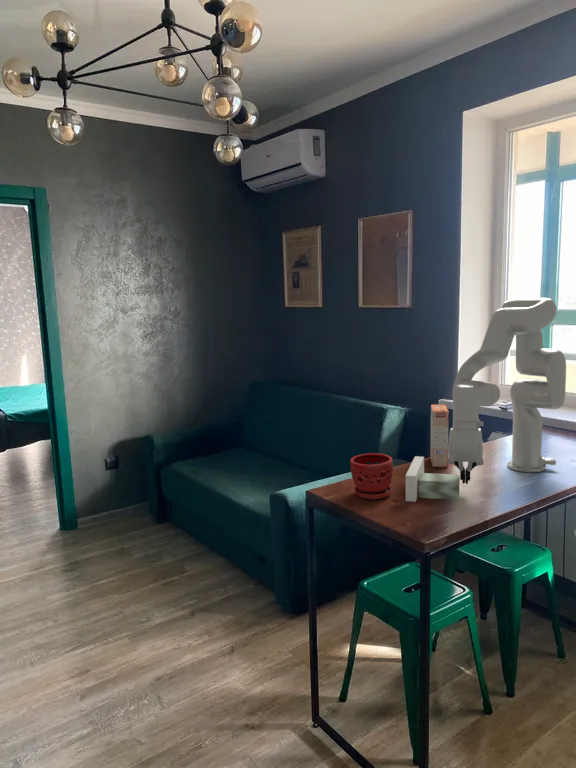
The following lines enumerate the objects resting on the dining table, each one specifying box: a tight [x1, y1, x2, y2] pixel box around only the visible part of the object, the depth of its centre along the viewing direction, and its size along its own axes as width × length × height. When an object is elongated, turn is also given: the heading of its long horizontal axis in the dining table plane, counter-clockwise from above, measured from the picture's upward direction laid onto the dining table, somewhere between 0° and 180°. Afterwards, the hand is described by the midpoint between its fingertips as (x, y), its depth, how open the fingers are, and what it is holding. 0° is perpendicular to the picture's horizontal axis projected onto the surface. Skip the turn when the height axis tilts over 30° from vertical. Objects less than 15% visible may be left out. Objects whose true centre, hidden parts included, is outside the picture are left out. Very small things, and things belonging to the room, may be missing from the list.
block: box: [418, 472, 460, 501], centre depth 177 cm, size 12×8×6 cm, turn 73°
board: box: [405, 455, 425, 503], centre depth 182 cm, size 3×22×8 cm, turn 160°
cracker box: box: [429, 404, 450, 468], centre depth 211 cm, size 14×6×21 cm, turn 168°
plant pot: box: [349, 452, 394, 500], centre depth 179 cm, size 13×13×12 cm
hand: (465, 482), depth 177 cm, fingers closed
